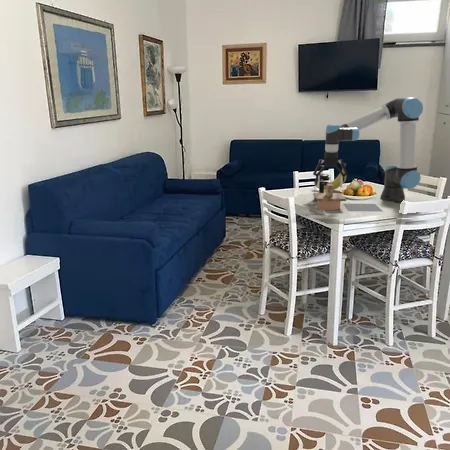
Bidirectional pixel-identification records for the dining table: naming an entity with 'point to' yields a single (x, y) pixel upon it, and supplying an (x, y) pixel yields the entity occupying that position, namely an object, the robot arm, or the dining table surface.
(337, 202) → the bowl
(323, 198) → the lid
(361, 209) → the mat
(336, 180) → the banana
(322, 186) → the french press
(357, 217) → the dining table surface
